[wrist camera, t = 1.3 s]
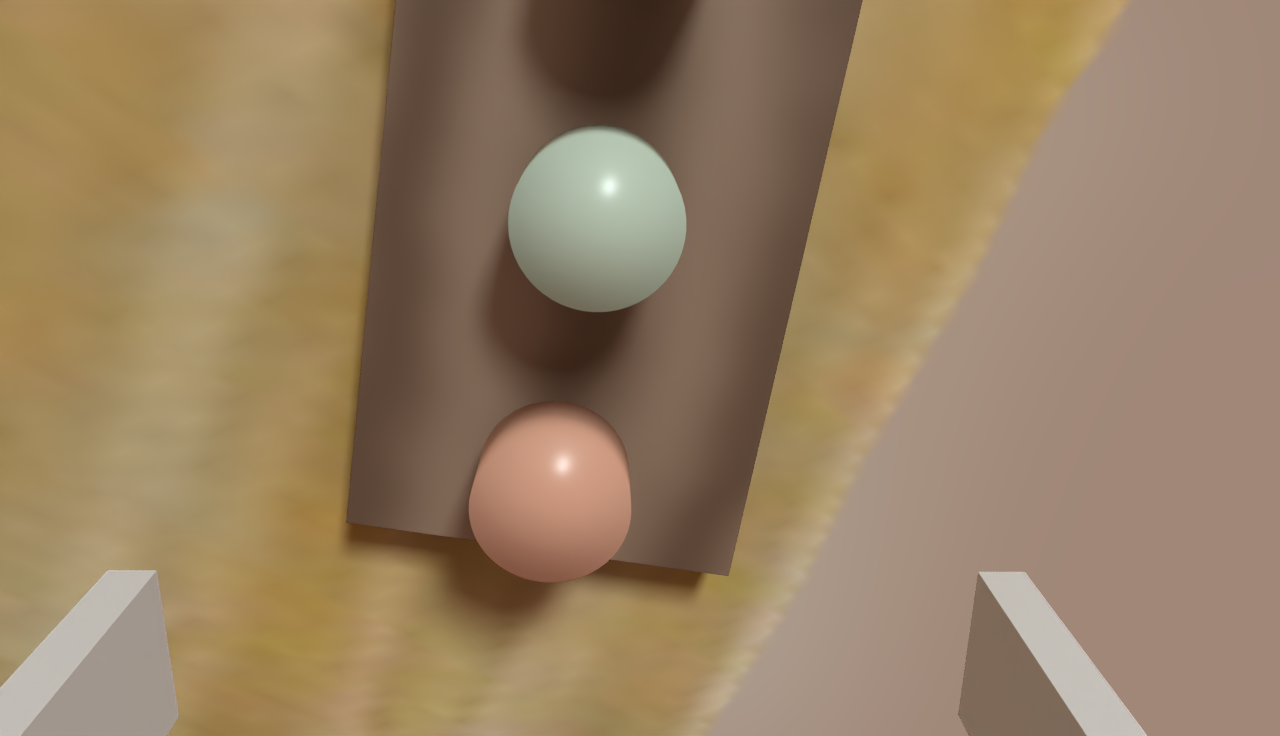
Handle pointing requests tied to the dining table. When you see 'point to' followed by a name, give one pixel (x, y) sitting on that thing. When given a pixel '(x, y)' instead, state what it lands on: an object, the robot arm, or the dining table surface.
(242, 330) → the dining table surface
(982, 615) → the robot arm
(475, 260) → the button board
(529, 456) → the terracotta button
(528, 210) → the sage button
